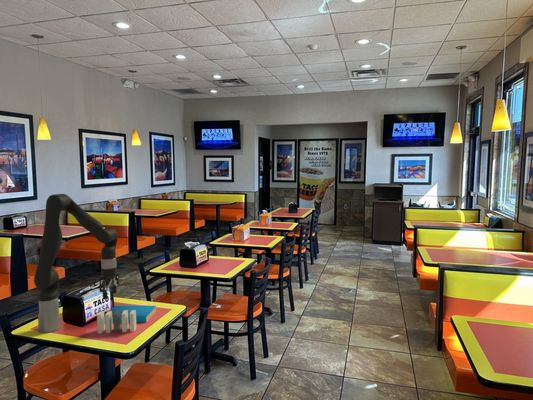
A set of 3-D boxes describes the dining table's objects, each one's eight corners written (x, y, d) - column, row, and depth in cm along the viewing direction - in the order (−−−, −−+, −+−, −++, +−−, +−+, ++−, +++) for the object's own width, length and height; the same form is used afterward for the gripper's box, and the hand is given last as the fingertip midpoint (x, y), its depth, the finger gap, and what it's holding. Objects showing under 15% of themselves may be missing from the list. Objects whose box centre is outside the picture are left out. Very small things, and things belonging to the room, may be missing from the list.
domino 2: (106, 332, 198) (105, 314, 197) (109, 328, 203) (108, 311, 202) (109, 332, 199) (109, 314, 198) (112, 328, 203) (112, 311, 203)
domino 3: (114, 332, 199) (113, 314, 198) (117, 328, 204) (116, 310, 203) (118, 332, 199) (117, 314, 198) (120, 328, 204) (119, 310, 203)
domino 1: (97, 333, 198) (96, 315, 197) (101, 329, 203) (100, 311, 202) (101, 333, 198) (100, 315, 197) (104, 329, 203) (104, 311, 202)
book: (116, 305, 228) (156, 304, 228) (116, 312, 229) (156, 311, 228) (102, 316, 211) (146, 316, 211) (103, 323, 212) (146, 323, 211)
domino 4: (122, 332, 199) (121, 314, 198) (124, 328, 204) (124, 310, 203) (126, 331, 199) (125, 313, 198) (128, 327, 204) (127, 310, 203)
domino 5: (130, 331, 200) (129, 313, 199) (132, 327, 204) (131, 310, 203) (134, 331, 200) (133, 313, 199) (136, 327, 205) (135, 309, 204)
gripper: (110, 262, 205) (111, 291, 206) (94, 269, 191) (95, 300, 193) (122, 263, 204) (123, 291, 205) (107, 270, 190) (108, 301, 191)
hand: (109, 295), depth 199 cm, fingers open, 8 cm apart
